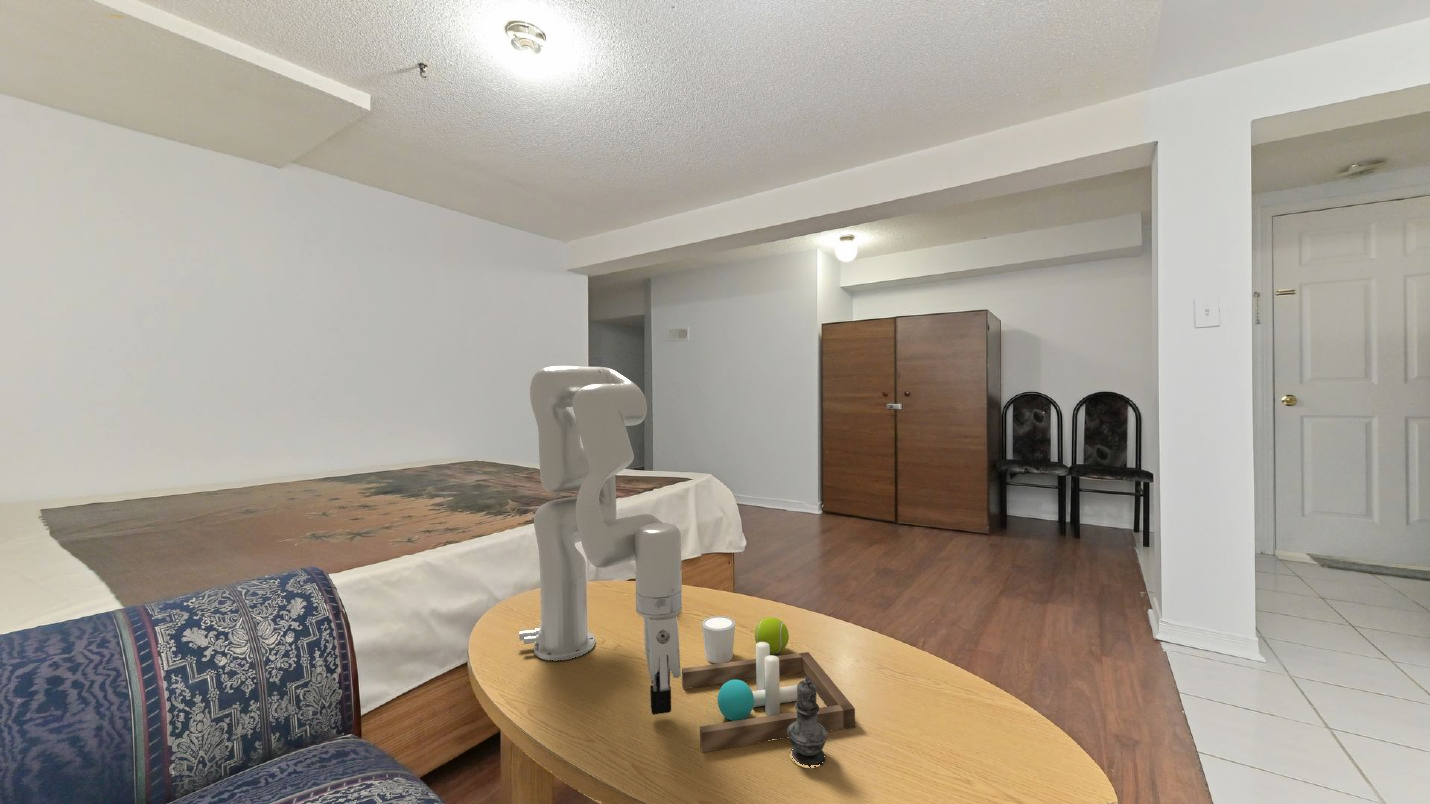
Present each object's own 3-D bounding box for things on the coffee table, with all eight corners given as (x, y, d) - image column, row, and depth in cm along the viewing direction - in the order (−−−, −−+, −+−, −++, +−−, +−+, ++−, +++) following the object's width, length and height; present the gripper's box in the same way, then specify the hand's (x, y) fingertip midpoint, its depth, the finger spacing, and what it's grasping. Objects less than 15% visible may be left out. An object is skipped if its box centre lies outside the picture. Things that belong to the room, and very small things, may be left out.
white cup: (732, 666, 104) (732, 631, 104) (698, 663, 105) (698, 628, 105) (738, 649, 111) (737, 616, 111) (706, 647, 112) (705, 614, 112)
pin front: (752, 696, 90) (802, 689, 92) (748, 688, 92) (797, 682, 94) (753, 710, 90) (803, 703, 92) (749, 702, 92) (798, 695, 94)
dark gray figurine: (797, 774, 74) (796, 690, 74) (781, 747, 80) (780, 669, 80) (835, 765, 76) (834, 682, 76) (816, 739, 82) (815, 663, 82)
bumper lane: (701, 752, 79) (701, 732, 79) (682, 684, 98) (681, 668, 98) (855, 727, 85) (854, 708, 85) (808, 667, 103) (808, 652, 103)
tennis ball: (751, 658, 107) (750, 623, 107) (759, 642, 114) (759, 610, 114) (785, 663, 105) (784, 628, 105) (791, 647, 112) (791, 614, 111)
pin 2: (768, 717, 88) (767, 663, 87) (763, 708, 90) (762, 656, 90) (781, 715, 88) (781, 661, 88) (776, 706, 90) (776, 654, 90)
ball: (753, 730, 86) (716, 729, 86) (750, 697, 91) (715, 696, 91) (757, 703, 84) (719, 702, 83) (753, 671, 89) (718, 670, 89)
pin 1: (758, 700, 92) (758, 649, 92) (754, 692, 95) (754, 642, 95) (772, 698, 93) (771, 647, 93) (767, 690, 95) (767, 641, 95)
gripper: (689, 616, 81) (691, 735, 81) (675, 582, 95) (676, 683, 95) (639, 622, 79) (641, 743, 79) (633, 586, 93) (634, 689, 94)
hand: (661, 710), depth 87 cm, fingers closed
